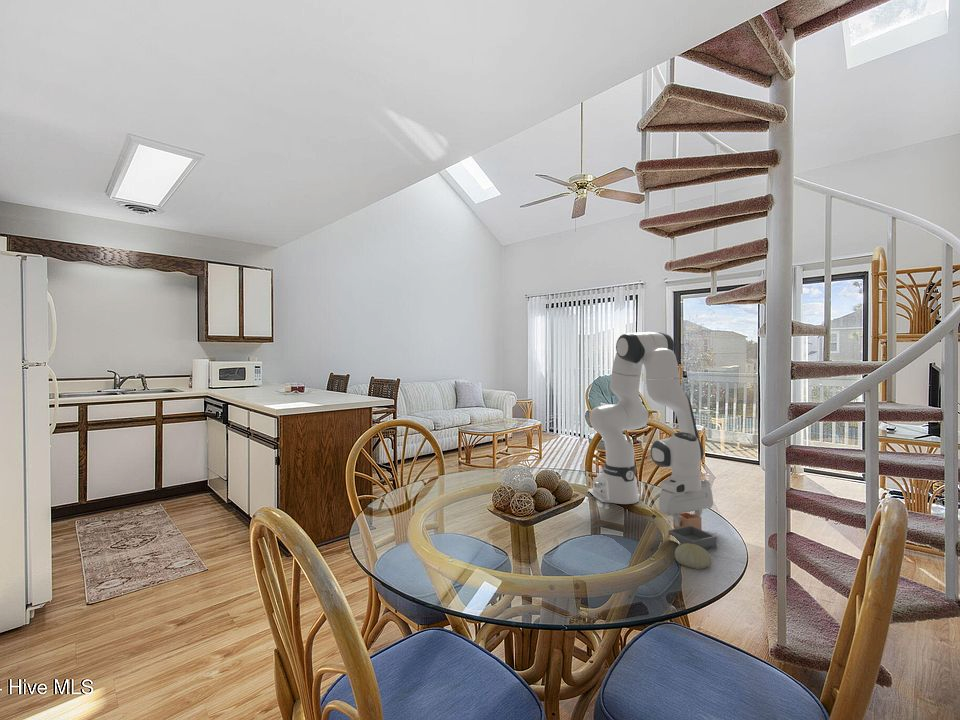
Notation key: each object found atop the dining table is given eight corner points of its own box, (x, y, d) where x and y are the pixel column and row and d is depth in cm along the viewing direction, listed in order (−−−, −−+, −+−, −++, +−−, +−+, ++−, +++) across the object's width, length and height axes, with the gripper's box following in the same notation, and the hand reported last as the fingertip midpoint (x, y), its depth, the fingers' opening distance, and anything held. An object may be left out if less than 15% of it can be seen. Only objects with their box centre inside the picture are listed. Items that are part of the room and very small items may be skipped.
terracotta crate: (673, 528, 148) (673, 513, 148) (687, 526, 150) (686, 511, 150) (687, 535, 142) (687, 519, 142) (701, 532, 145) (701, 517, 145)
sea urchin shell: (699, 568, 116) (680, 539, 121) (681, 580, 121) (664, 552, 126) (721, 560, 121) (702, 532, 126) (703, 572, 125) (685, 545, 130)
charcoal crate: (668, 539, 139) (668, 530, 139) (691, 535, 143) (691, 525, 143) (693, 551, 130) (692, 541, 130) (716, 546, 134) (716, 536, 134)
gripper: (701, 476, 153) (702, 516, 153) (655, 483, 146) (656, 525, 146) (717, 481, 147) (718, 522, 147) (670, 488, 140) (670, 532, 140)
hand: (687, 524), depth 146 cm, fingers closed on terracotta crate, 6 cm apart
